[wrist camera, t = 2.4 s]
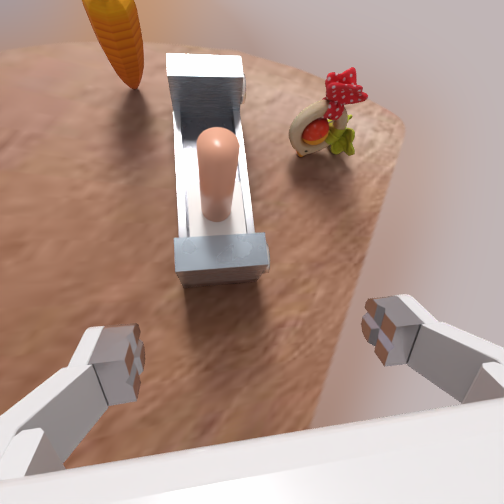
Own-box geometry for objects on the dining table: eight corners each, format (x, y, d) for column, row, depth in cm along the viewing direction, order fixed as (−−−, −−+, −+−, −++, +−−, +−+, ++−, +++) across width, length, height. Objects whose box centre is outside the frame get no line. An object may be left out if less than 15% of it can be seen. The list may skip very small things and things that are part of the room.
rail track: (183, 288, 31) (175, 273, 24) (174, 106, 38) (166, 52, 31) (260, 281, 33) (274, 265, 26) (239, 107, 39) (245, 55, 32)
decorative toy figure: (305, 182, 40) (369, 150, 38) (297, 139, 29) (384, 94, 28) (287, 144, 41) (347, 113, 40) (273, 92, 31) (354, 46, 29)
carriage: (191, 246, 31) (178, 185, 19) (188, 196, 33) (175, 109, 21) (243, 243, 32) (263, 182, 20) (238, 194, 34) (253, 110, 21)
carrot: (162, 88, 39) (134, -59, 25) (135, 110, 37) (88, -34, 23) (134, 67, 39) (90, -89, 25) (106, 88, 38) (42, -67, 23)
